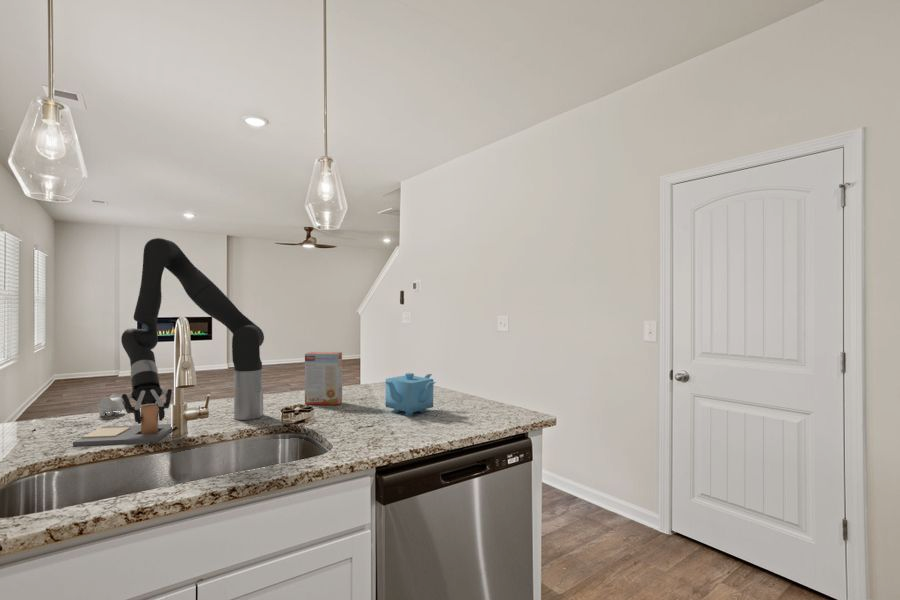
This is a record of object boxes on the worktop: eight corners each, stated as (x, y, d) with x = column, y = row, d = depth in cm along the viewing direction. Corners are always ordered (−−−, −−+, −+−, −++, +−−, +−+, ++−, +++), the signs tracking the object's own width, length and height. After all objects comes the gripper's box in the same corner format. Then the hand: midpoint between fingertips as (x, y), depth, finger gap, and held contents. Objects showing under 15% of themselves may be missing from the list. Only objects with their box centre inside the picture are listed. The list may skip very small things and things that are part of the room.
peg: (160, 432, 149) (160, 404, 149) (154, 436, 144) (154, 408, 144) (145, 433, 148) (145, 405, 148) (138, 437, 144) (138, 408, 143)
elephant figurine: (121, 416, 168) (121, 396, 168) (91, 417, 166) (91, 397, 166) (131, 411, 176) (131, 392, 176) (102, 412, 174) (102, 393, 174)
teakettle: (386, 406, 186) (386, 369, 186) (433, 405, 188) (433, 369, 188) (384, 419, 167) (384, 378, 167) (436, 417, 169) (436, 377, 169)
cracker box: (342, 402, 193) (342, 351, 193) (337, 405, 187) (337, 353, 187) (310, 401, 194) (310, 351, 194) (304, 404, 188) (304, 353, 188)
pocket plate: (177, 427, 155) (177, 422, 155) (155, 442, 139) (155, 436, 139) (103, 430, 151) (103, 425, 151) (72, 446, 135) (72, 440, 135)
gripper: (119, 372, 147) (123, 417, 138) (171, 367, 156) (178, 410, 147) (117, 386, 151) (121, 431, 142) (168, 381, 160) (175, 423, 151)
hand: (150, 420), depth 145 cm, fingers open, 5 cm apart
